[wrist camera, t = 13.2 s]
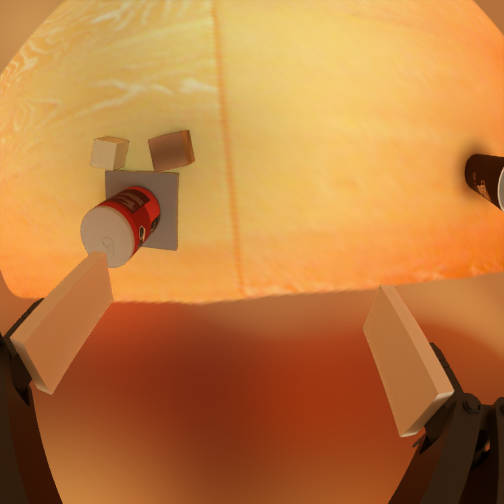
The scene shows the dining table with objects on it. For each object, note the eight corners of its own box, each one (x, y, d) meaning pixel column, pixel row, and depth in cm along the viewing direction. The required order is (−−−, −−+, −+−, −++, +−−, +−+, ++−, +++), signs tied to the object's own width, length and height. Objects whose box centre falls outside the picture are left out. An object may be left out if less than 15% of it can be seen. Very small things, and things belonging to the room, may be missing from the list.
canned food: (133, 241, 43) (101, 276, 33) (109, 198, 40) (69, 223, 30) (171, 223, 41) (144, 256, 31) (147, 176, 38) (111, 196, 28)
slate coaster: (107, 170, 39) (105, 171, 38) (178, 173, 39) (177, 174, 38) (111, 240, 44) (109, 242, 43) (177, 248, 44) (176, 250, 43)
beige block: (107, 136, 36) (94, 139, 33) (129, 140, 37) (117, 143, 33) (103, 161, 38) (90, 166, 34) (124, 166, 38) (112, 171, 35)
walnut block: (159, 137, 37) (147, 139, 33) (189, 130, 36) (180, 131, 32) (165, 167, 39) (154, 172, 34) (195, 160, 38) (186, 165, 34)
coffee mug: (457, 150, 34) (496, 162, 25) (489, 145, 33) (527, 156, 24) (462, 215, 39) (496, 238, 30) (492, 206, 38) (526, 226, 29)
